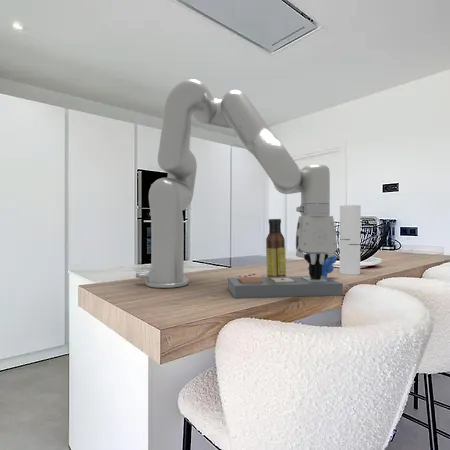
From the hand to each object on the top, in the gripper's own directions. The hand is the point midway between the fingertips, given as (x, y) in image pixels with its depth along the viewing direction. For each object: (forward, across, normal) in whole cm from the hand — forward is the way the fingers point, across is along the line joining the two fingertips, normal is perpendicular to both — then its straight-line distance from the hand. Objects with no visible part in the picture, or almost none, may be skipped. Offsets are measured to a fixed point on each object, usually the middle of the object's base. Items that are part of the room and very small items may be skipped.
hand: (315, 278), depth 87 cm
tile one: (+3, -9, 0) cm, 10 cm away
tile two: (+3, 0, 0) cm, 3 cm away
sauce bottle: (+4, -5, +19) cm, 20 cm away
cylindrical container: (+4, +26, +28) cm, 38 cm away
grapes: (+4, +10, +18) cm, 21 cm away
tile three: (+2, -18, 0) cm, 18 cm away
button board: (+3, -9, 0) cm, 10 cm away
